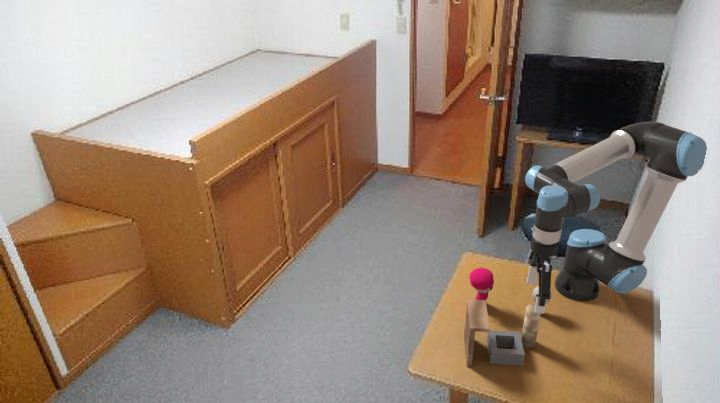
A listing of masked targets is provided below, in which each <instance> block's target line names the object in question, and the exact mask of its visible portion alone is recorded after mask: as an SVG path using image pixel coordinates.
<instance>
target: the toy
mask: <svg viewBox="0 0 720 403" xmlns="http://www.w3.org/2000/svg"><path fill="white" fill-rule="evenodd" d="M469 284H470V285H471V287H472V288H474V289H475V290H476V296H475V299H474V300H485V301H486V302H487V300H488V298H489V292H490V291H492V290H493V287H494V284H495V280H494V274H493V272H492V271H491V270H490V269H488V268H486V267H477V268H476V267H475V269H473V270H471V272H470V273H469Z"/></svg>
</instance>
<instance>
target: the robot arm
mask: <svg viewBox="0 0 720 403" xmlns="http://www.w3.org/2000/svg"><path fill="white" fill-rule="evenodd" d="M706 150H707V151H708V147H707V143H706V141H705V139H703V138H702V137H700V136H698V135H696V134H693V133H692V132H689V131H686V130H683V129H679V128H677V127H673V126H670V125H667V124H665V123H662V122H659V121H642V122H637V123H633V124H629V125H626V126H623V127H621V128H619V129H616V130H614V131H612V133H611V134H610V136H609V137H608V138H605V139H603V140H602V141H599V142H597V143H596V144H593V145H591V146H589V147H587V148H585V149H583V150H581V151H579V152H576V153H575V154H573V155H570V156H568V157H567V158H564V159H562V160H560V161H557V162H556V163H555V164H553V165H551V166H548V167H545V166H542V165H540V164H539V165H532V167H531V168H530V169H528V171H527V173H526V174H525V178H524V179H525V184H526V187H528V188H529V189H531V190H532V191H533V192H535V193H537V194H538V198H537V200H536V209H535V210H536V211H535V216H534V217H535V218H534V223H533V227H531V229H530V230H531V231H532V236H531V241H530V247H529V248H530V253H529V256H528V260H529V263H528V264H529V267H528V273H527V279H526V285H529V286H536V285H537V280H538V286H539V294H537V295H536V297H537V299H536V304H534V305H535V310H534V312H535V313H542V314H545V311H546V306H547V304H546V302H547V299H550V291H551V288H552V287H551V286H552V269H553V264H551V262H552V260H551V259H552V258H551V257H553V256H555V255H556V254H557V253H558V251H559V246H560V240H561V237H562V236H561V235H562V231H563V225H564V220H565V219H568V218H570V217H573V216H577V215H579V214H580V215H581V214H583V213H588V212H589V211H591V210H594V209H596V208H597V207H598V206H599V205H600V202H601V195H600V192H599V190H598V188H597V187H596V186H594V185H593V184H590V183H586V184H580V185H578V184H576V183H575V182H577V181H579V180H581V179H583V178H585V177H587V176H589V175H591V174H593V173H595V172H598V171H599V170H601V169H604V168H605V167H607V166H610V165H611V164H613V163H615V162H617V161H619V160H621V159H624V160H626V159H630V158H632V157H641V158H643V159H646V160H648V162H647V163H646V165H645V168H646V170H647V172H648V173H647V175H646V177H645V180H644V182H643V184H642V186H641V188H640V190H639V192H638V194H637V197H636V198H635V200H634V203H633V204H632V207H631V209H630V210H629V212H628V215H627V216H626V219H625V220H624V224H623V225H622V227H621V229H620V231H619V233H618V235H617V238H616V239H615V240H614V241H611V242H609V243H606V242H607V237H606V234H604V233H603V232H601V231H599V230H596V229H591V228H582V229H581V228H580V229H576V230H573V231H572V232H571V233H570V234H569V236H568V240H567V241H566V249H565V256H564V262H563V266H562V268H561V269H560V271H559V272H558V274H557V275H556V277H555V281H554V287H555V289H556V291H557V292H558V293H559V294H561V295H562V296H564V297H565V298H567V299H569V300H570V299H571V300H573V301H578V302H589V301H592V300H595V299H597V297H599V295H600V290H601V285H600V283H602V284H603V285H605V286H606V287H607V288H609V289H611V290H613V291H614V292H616V293H618V294H622V295H623V294H624V295H625V294H628V293H631V292H632V291H634V290H635V289H637V288H638V287H639V286H640V285H641V284H642V283H643V282H644V280H645V279H646V277H647V274H648V268H646V266H645V265H644V263H645V261H646V256H645V253H644V251H645V249H646V247H647V245H648V244H649V241H650V239H651V238H652V235H653V233H654V232H655V230H656V228H657V225H658V223H659V222H660V220H661V217H662V216H663V214H664V211H665V210H666V207H667V206H668V204H669V202H670V200H671V198H672V196H673V194H674V192H675V190H676V189H677V186H678V184H680V183H683V182H686V180H687V179H688V177H693V176H696V175H697V174H698V173H699V172H700V171H701V169H702V168H703V166H704V165H705V163H704V159H705V155H706ZM703 164H704V165H703ZM542 314H541V315H542Z"/></svg>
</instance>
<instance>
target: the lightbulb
mask: <svg viewBox="0 0 720 403" xmlns="http://www.w3.org/2000/svg"><path fill="white" fill-rule="evenodd" d="M537 294H539V285H537V286H536V287H534V289H533V290H532V294H531V295H532V299H533V300H534V303H535V304H536V299H537V297H536V295H537ZM552 296H553V295H552V292H551V290H550V299H547V302H546V305H547V304H548V303H549V302H550V301H551V299H552ZM535 304H534V305H535ZM541 315H542V313H541Z"/></svg>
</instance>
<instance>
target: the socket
mask: <svg viewBox="0 0 720 403" xmlns="http://www.w3.org/2000/svg"><path fill="white" fill-rule="evenodd" d="M521 337H522V335H521V332H519V331H507V330H506V331H505V330H504V331H501V330H490V331H489V332H487V336H486V345H487V351H488V359H489V364H490V365H502V366H503V365H504V366H521V367H522V366H524V360H525V355H526V354H525V350H524V346H523V345H522V340H521ZM498 347H507V348H498ZM508 347H510V348H508Z"/></svg>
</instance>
